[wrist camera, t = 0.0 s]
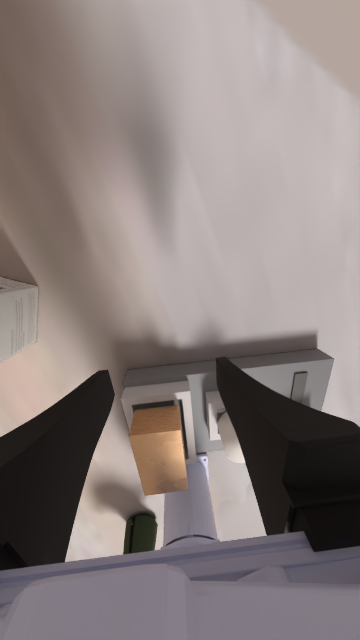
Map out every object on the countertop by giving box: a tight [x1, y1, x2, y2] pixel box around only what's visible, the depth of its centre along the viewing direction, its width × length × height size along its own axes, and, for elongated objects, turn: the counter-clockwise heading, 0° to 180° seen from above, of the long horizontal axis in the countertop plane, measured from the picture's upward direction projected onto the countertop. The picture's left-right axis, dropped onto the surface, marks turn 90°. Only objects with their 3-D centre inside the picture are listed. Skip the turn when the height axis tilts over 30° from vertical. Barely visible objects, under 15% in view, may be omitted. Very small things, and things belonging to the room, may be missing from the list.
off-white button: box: [218, 412, 245, 463], centre depth 19 cm, size 4×4×3 cm
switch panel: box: [121, 349, 334, 465], centre depth 23 cm, size 14×26×4 cm, turn 95°
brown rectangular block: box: [129, 405, 188, 496], centre depth 19 cm, size 10×5×3 cm, turn 5°
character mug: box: [123, 515, 158, 555], centre depth 29 cm, size 11×7×13 cm, turn 117°
